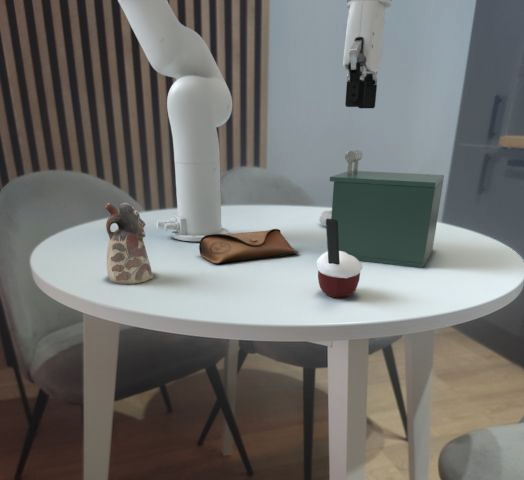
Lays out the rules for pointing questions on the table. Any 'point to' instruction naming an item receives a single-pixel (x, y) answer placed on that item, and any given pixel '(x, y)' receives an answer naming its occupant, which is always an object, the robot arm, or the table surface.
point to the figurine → (126, 246)
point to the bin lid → (383, 175)
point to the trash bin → (386, 221)
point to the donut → (325, 217)
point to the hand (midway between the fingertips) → (360, 107)
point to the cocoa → (337, 266)
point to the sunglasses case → (244, 246)
